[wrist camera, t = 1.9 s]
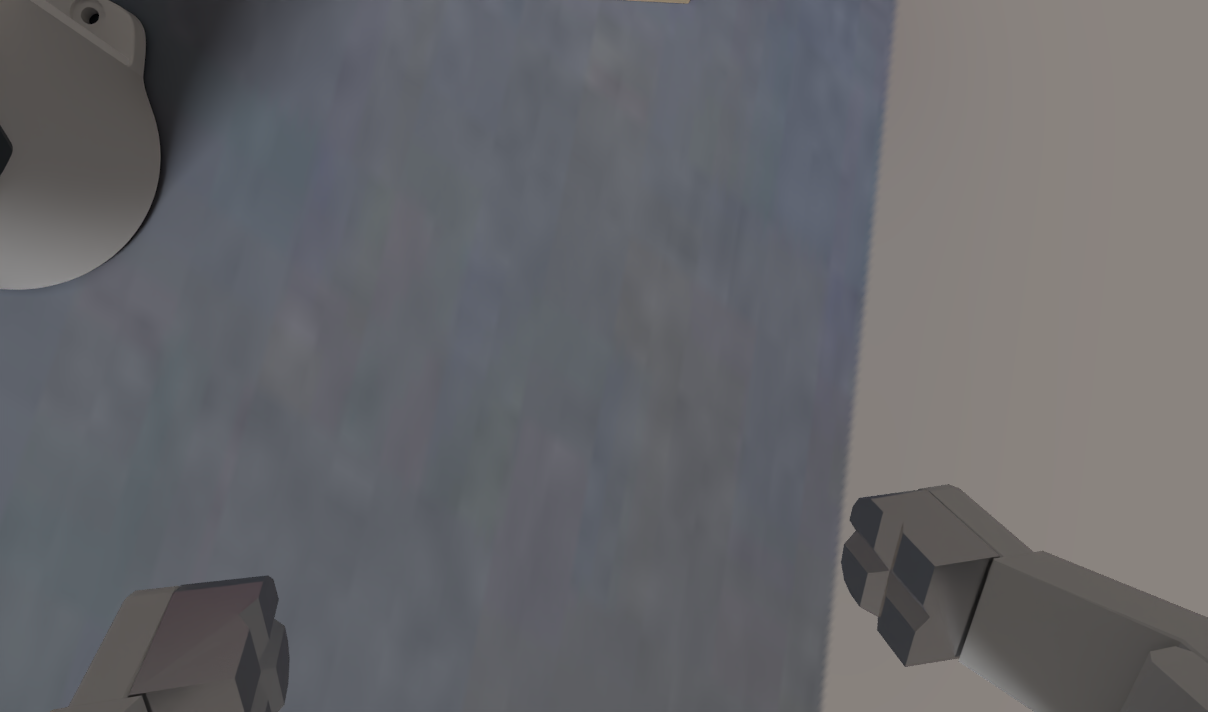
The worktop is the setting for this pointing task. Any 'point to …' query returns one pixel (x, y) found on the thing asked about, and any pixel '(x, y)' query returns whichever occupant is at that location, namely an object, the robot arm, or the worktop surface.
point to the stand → (669, 0)
